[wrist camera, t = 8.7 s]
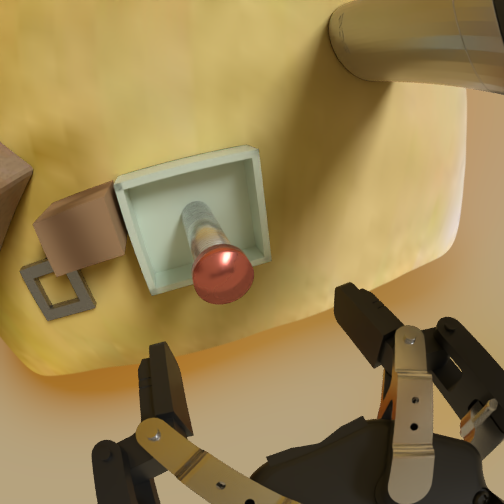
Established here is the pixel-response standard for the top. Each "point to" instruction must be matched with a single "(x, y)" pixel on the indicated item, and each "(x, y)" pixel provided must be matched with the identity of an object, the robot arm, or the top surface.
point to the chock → (82, 229)
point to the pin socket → (37, 291)
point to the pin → (214, 257)
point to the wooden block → (11, 186)
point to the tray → (182, 193)
